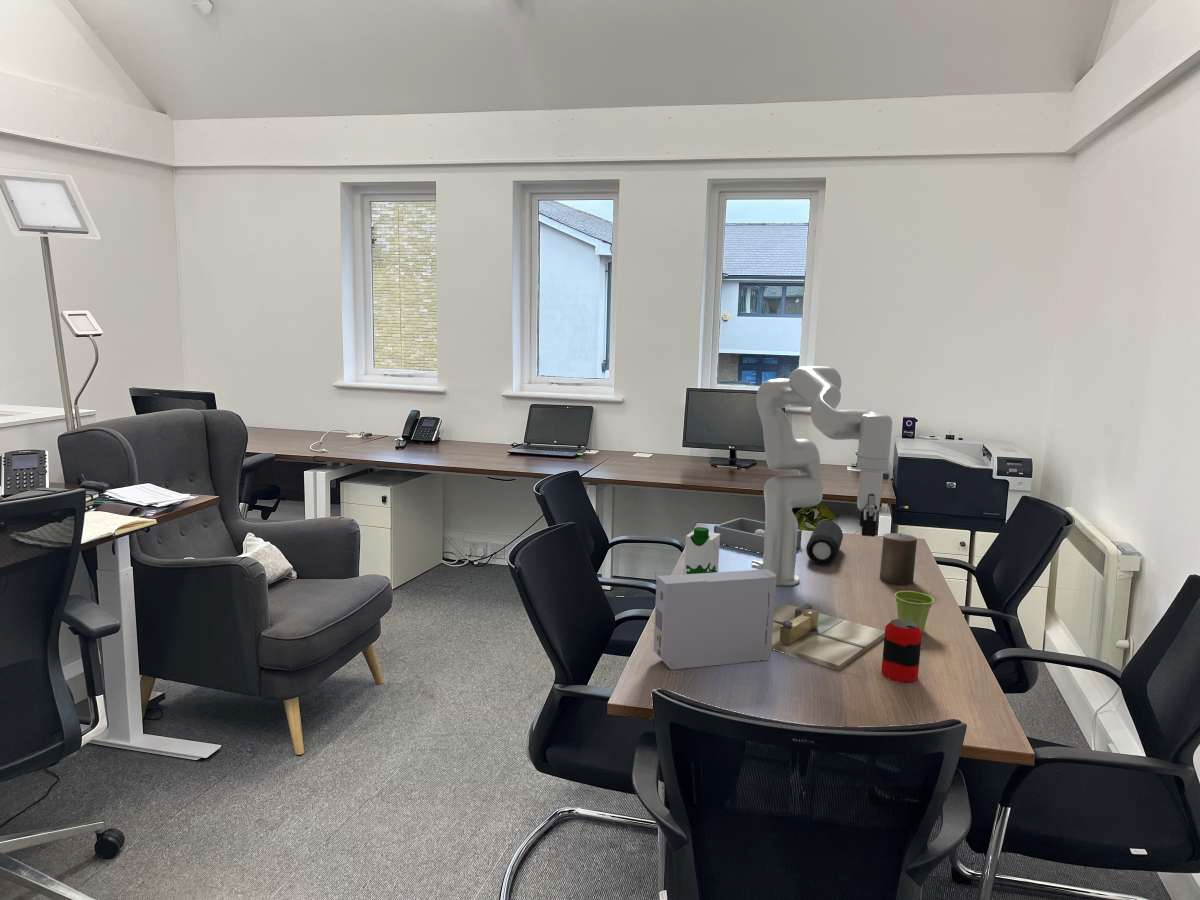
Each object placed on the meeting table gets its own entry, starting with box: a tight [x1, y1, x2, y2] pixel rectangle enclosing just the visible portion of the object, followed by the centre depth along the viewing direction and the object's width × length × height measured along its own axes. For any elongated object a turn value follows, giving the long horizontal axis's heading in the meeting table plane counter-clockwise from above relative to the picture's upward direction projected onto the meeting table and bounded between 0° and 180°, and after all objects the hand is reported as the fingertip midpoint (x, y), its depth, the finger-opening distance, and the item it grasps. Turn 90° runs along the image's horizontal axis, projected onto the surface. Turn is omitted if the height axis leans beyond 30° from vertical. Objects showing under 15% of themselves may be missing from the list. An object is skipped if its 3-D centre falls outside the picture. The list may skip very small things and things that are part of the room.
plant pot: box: [894, 590, 935, 633], centre depth 207 cm, size 9×9×9 cm
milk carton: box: [683, 526, 720, 574], centre depth 225 cm, size 9×9×20 cm
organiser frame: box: [713, 517, 803, 554], centre depth 282 cm, size 24×18×6 cm
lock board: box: [772, 603, 885, 671], centre depth 200 cm, size 28×28×4 cm
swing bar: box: [779, 609, 820, 645], centre depth 196 cm, size 15×4×5 cm, turn 140°
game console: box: [653, 569, 777, 671], centre depth 183 cm, size 6×27×20 cm, turn 107°
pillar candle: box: [879, 532, 918, 586], centre depth 246 cm, size 10×10×15 cm
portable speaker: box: [805, 520, 844, 566], centre depth 270 cm, size 26×10×10 cm, turn 160°
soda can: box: [881, 618, 923, 684], centre depth 179 cm, size 8×8×12 cm
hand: (867, 531), depth 204 cm, fingers open, 9 cm apart
